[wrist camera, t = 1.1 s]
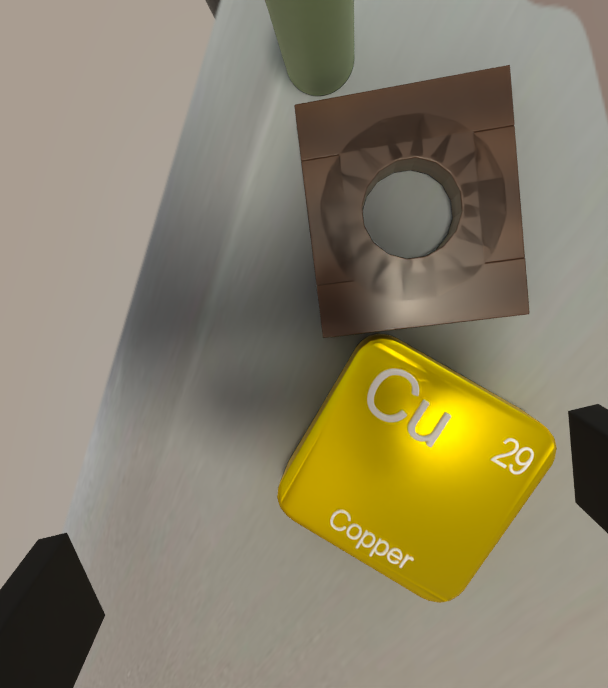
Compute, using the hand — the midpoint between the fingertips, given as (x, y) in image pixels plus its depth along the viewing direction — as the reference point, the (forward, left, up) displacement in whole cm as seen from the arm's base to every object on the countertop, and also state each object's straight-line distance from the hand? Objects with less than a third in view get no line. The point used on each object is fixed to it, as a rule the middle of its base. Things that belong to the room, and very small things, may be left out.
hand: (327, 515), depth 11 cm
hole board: (-11, +6, -23) cm, 27 cm away
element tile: (+7, +4, -24) cm, 25 cm away
